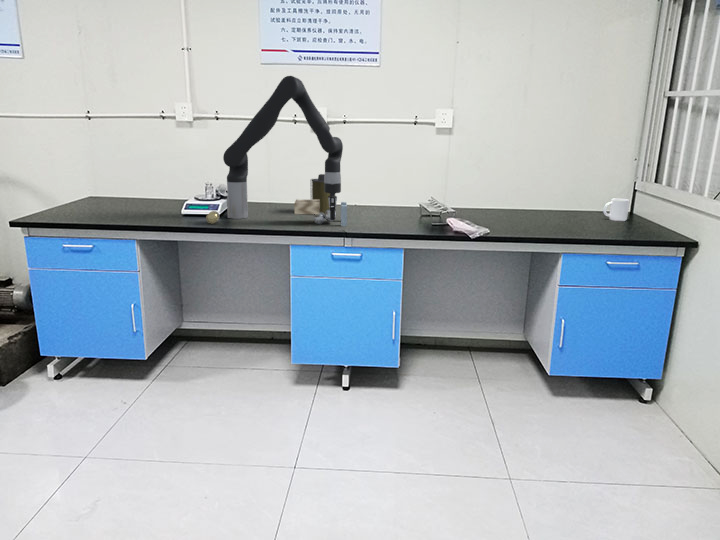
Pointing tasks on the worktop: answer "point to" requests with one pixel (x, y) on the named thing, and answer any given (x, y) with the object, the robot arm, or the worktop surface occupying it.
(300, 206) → the slab
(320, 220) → the translucent grey ball
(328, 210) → the mottled grey ball
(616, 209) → the mug
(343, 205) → the post
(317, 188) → the canister
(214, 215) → the olive tan ovoid
